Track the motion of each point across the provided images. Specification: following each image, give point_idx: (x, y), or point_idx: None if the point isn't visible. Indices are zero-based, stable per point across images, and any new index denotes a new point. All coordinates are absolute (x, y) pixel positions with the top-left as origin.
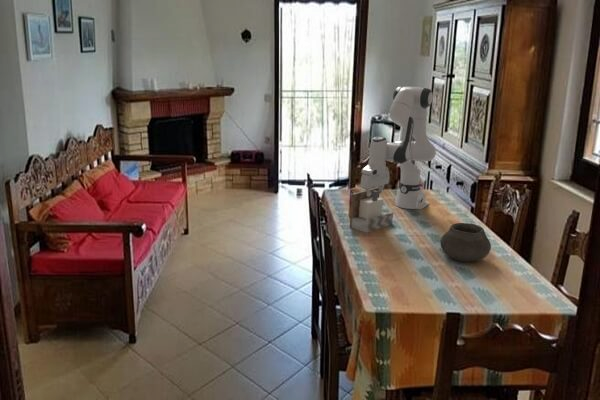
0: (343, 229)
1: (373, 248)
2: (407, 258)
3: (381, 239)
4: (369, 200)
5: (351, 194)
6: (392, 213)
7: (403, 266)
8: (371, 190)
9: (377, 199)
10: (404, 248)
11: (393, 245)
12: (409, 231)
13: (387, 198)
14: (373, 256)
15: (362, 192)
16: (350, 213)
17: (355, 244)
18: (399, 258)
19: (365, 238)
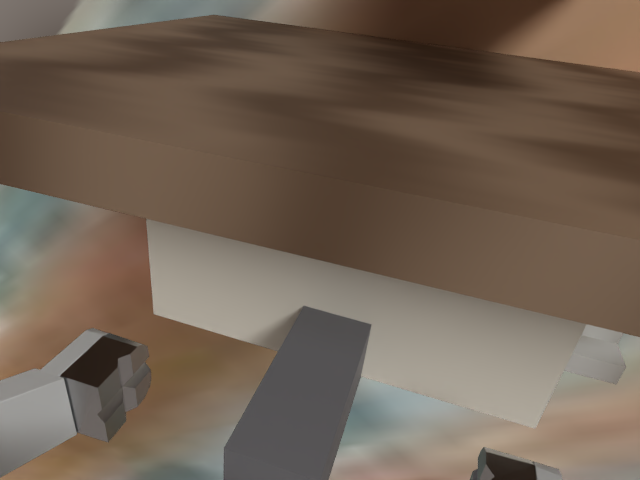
0: (121, 14)
1: (65, 338)
2: (113, 474)
3: (196, 334)
4: (261, 276)
5: None
6: (596, 371)
7: (47, 470)
8: (521, 294)
9: (356, 389)
10: (191, 452)
11: (178, 406)
12: (474, 440)
13: None
14: (6, 364)
15: (101, 202)
16: (124, 26)
17: (16, 243)
18: (86, 450)
19: (128, 250)
